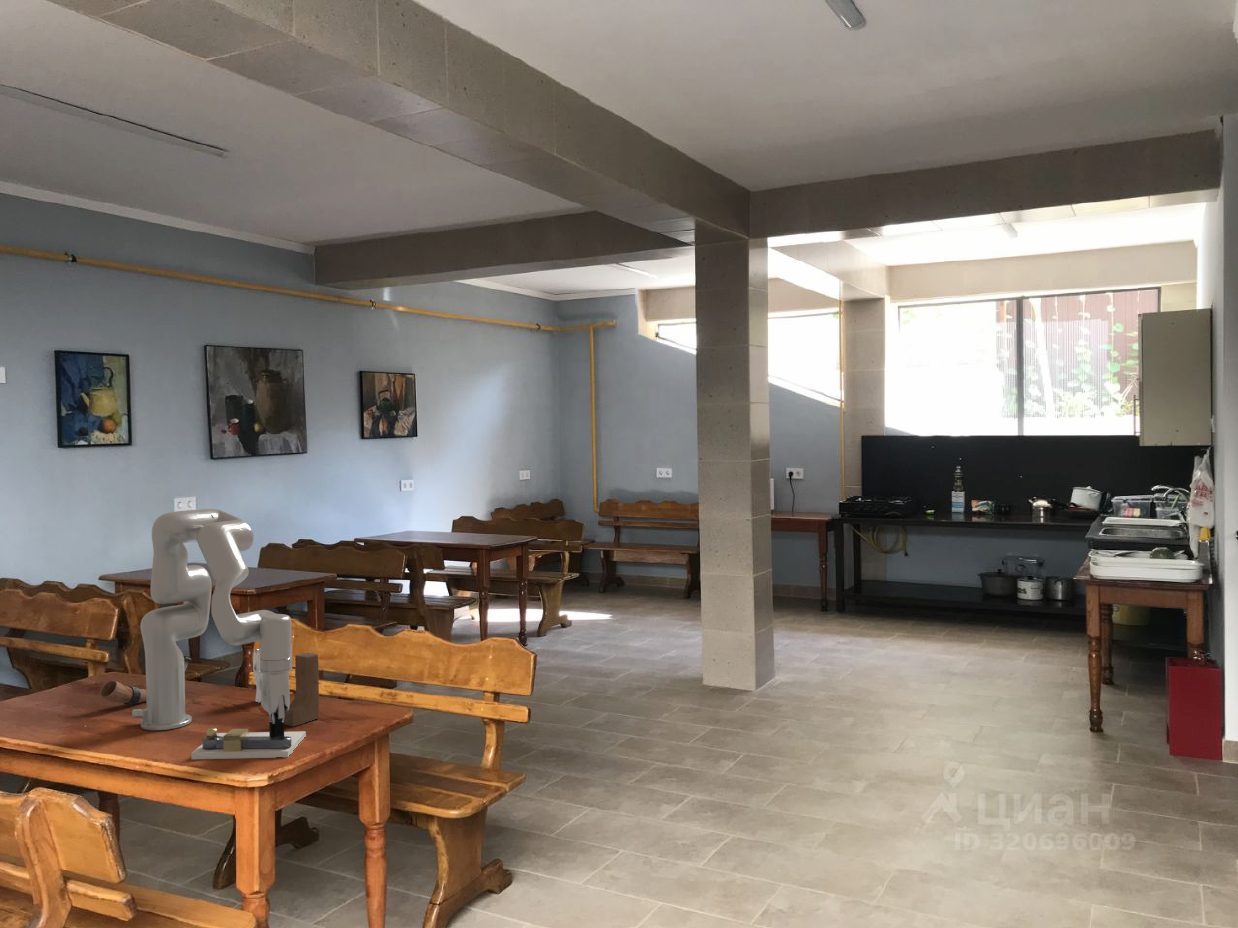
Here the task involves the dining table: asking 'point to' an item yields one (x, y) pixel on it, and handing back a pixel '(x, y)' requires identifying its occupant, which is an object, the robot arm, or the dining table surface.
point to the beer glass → (257, 674)
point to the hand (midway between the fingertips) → (276, 737)
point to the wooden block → (304, 691)
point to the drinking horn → (126, 691)
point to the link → (250, 742)
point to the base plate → (251, 749)
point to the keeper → (230, 738)
